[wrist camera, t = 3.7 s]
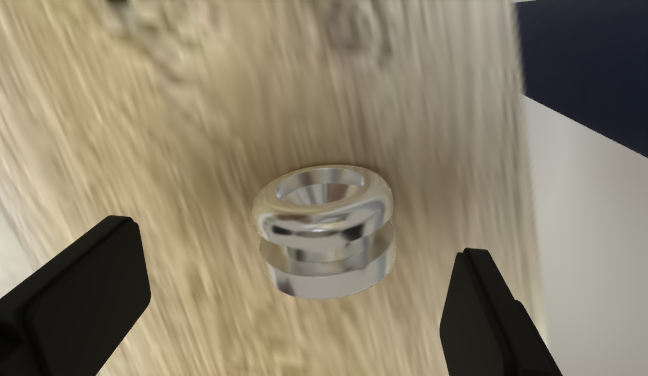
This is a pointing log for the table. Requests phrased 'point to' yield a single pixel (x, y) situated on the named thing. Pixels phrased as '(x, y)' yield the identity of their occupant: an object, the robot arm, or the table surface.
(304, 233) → the metal grooved wheel
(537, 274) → the table surface
